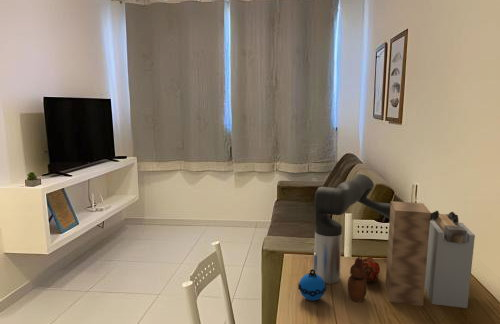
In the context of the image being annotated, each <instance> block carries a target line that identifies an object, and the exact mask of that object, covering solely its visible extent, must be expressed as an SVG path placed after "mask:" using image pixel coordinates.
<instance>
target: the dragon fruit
mask: <svg viewBox="0 0 500 324" xmlns="http://www.w3.org/2000/svg"><path fill="white" fill-rule="evenodd" d="M362 266H364V268H365V276H364V278H365V280H366V283H370V282H372V281H377V280H379V274H380V273H381V267H380V265H379V263H378V262H375V260H374V259H373V258H372V257H370V256H369V257H367V258H362Z"/></svg>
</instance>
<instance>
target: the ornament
mask: <svg viewBox="0 0 500 324" xmlns="http://www.w3.org/2000/svg"><path fill="white" fill-rule="evenodd" d="M313 272H314V273H313ZM326 286H327V285H326V283H325V282H324V281H323V279H322V278H321V277H320V276H319V275H317V274H315V270H313V268H312V269H310V270H309V273H306V274H305V275H303V276H302V277H301V278H300V280H299V282H298V287H297V289H298V290H299V293H300V294H301V295H302V298H303V297H304V298H305V300H308V301H317V300H320V299H321V298H322V297H323V296H324V295H325V292H326V290H327V287H326Z"/></svg>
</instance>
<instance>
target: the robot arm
mask: <svg viewBox="0 0 500 324" xmlns="http://www.w3.org/2000/svg"><path fill="white" fill-rule="evenodd" d="M374 187H375V184H374V182H373V180H372V178H370V177H369V176H367V175H365V174H361V173H359V174H356V175H355V176H354V177H352V178H351V179H349V180H347V181H346V180H344V181H343V182H342V183H340V184H338V185H337V186H336V187H330V186H319V187H318V188H317V189H316V190H315V195H314V227H315V228H314V249H313V251H314V252H313V263H312V264H313V266H312V269H313V270H315V274H317V275H319V276H320V277H321V278H322V279H323V281H324V282H325V284H328V285H329V284H335V283H339V281H340V280H341V278H340V276H341V259H342V258H341V255H342V252H341V251H342V234H343V233H342V232H343V227H342V225H341V224H340V223H339V222H338V221H336V220H334V219H333V218H332V217H330V215H333V216H341V215H343V214H345V213H346V211H347V210H348V209H349V208H350V207H351V206H352V205H354V204H357V202H358V203H360V204H362V205H364V206H366V207H367V208H368V209H371V210H373V211H375V212H376V213H377V214H380V215H382V216H384V217H386V218H387V219H388V220H390V206H391V203H387V202H378V201H374V200H372V199H370V198H369V197H368V196H369V194H370V193H371V192H372V190H373V189H374ZM439 214H440V212H439V210H435V211H434V212H431V217H430V221H435V222H436V219H437V218H438V217H439ZM445 214H446V215H447V217H448V218H449V219H450V220H451V221H452V222H453V223H454V224H455V225H456V226H457V223H460V222H459V215H458V214H456V213H455V212H454V211H450V212H449V213H448V214H447V213H445ZM312 273H314V272H313V271H312Z"/></svg>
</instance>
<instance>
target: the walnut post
mask: <svg viewBox="0 0 500 324" xmlns="http://www.w3.org/2000/svg"><path fill="white" fill-rule="evenodd" d="M390 204H391V206H390V219H389V222H388V223H389V225H388V238H387V239H388V240H387V251H386V252H387V255H386V267H385V268H386V269H385V284H384V285H385V290H386V295H387V299H388V302H390V303H396V304H405V305H413V306H422V307H423V306H424V299H425V298H424V297H425V276H426V264H427V252H428V240H429V229H430V217H431V213H432V212H431V211H430V210H429V209H428V207H427V206H426V205H425V204H424V203H422V202H410V201H409V202H408V201H407V202H405V201H394V200H393V201H392V200H391V201H390Z"/></svg>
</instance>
